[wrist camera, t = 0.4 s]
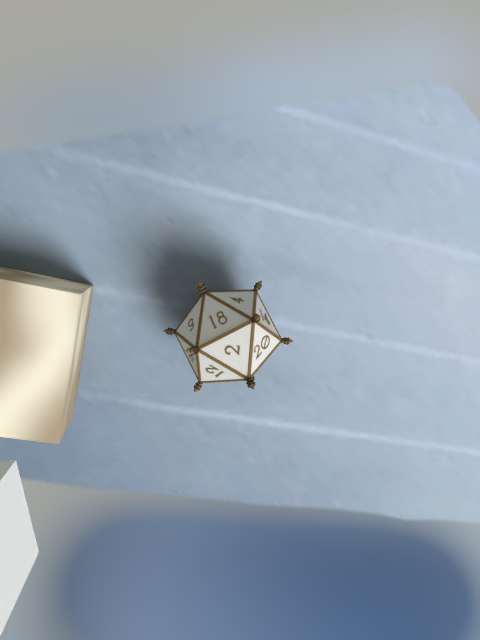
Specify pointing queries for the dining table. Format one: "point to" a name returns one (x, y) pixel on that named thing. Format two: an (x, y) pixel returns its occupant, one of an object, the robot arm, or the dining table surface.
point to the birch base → (40, 353)
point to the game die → (227, 335)
